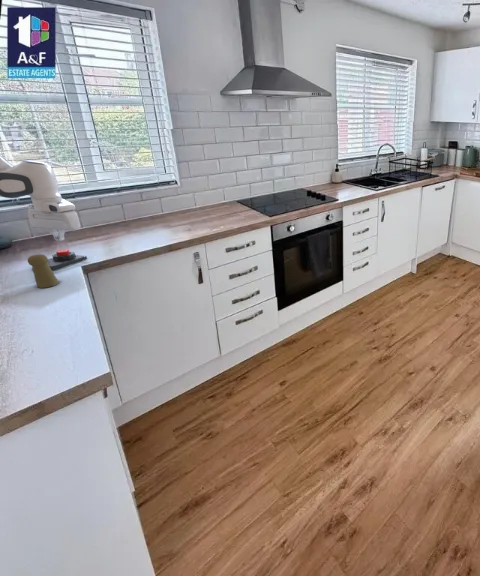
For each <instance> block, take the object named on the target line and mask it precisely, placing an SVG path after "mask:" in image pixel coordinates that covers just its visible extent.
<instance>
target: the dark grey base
mask: <svg viewBox="0 0 480 576" xmlns="http://www.w3.org/2000/svg"><path fill="white" fill-rule="evenodd" d="M69 252H70V254H69V255H64V256H57V253H56V252H55V253H53V254H52V255H51V257H50V258H48V262H47V264H48V265H49V267H50V268H51V270H52V272H55V271H58V270H60V269H64V268H67V267H69V266H72V265H74V264H77V263H80V262H83V261H85V260H87V259H88V257H87V255H80V254H76V252H74V251H69Z"/></svg>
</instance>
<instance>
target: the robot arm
mask: <svg viewBox="0 0 480 576" xmlns="http://www.w3.org/2000/svg"><path fill="white" fill-rule="evenodd" d="M26 196H29V197H30V199H31V203H29V205H28V206H27V217H28V221H29V224H30V226H31V227H32V228H34V229H35V228H37V229H47V230H48V232H49V233H50V234H51V235H52V236H53V240H54V241H64V240H66V238H65V233H66V231H67V232H74V231H78V230H80V229H81V222H80V218H79V216H78V213H77V212H76V211H75V210H76V206H75V204H74V203H71V202H70V201H67V200H65V199H64V198H63V197H62V195H61V192H60V191H59V184H58V181H57V178H56V174H55V173H54V170H53V168H52V167H51V166H50V165H49V164H48V163H46V162H43V161H39V160H29V159H28V160H22V161H21V162H20V163H18V164H16V165H13V164H11V163H10V162H9V161H7V160H6V159H5V158H3V157H2V156H1V155H0V197H3V198H6V199H19V198H21V197H26Z"/></svg>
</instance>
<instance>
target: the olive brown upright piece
mask: <svg viewBox="0 0 480 576" xmlns="http://www.w3.org/2000/svg"><path fill="white" fill-rule="evenodd" d="M48 259H49V258H48V256H46V255H45V254H40V253H39V254H34V255H31V256H29V257H27V263H28V265H30V266H31V267H32V271H33V276H34V280H35V284H36V287H37V288H40V289H44V288H50V287H53V286H57V285H58V284H59V283H60V282H59V280H58V278H57V276H56V275H55V273H54V271H52V270H51V268H50V267H49V265H48V264H47V262H48Z"/></svg>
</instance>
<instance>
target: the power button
mask: <svg viewBox="0 0 480 576" xmlns="http://www.w3.org/2000/svg"><path fill="white" fill-rule="evenodd" d="M70 252H71V251H70V249H58V250H56V251H55V254H56V253H57V256H64V255H69V254H70Z"/></svg>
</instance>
